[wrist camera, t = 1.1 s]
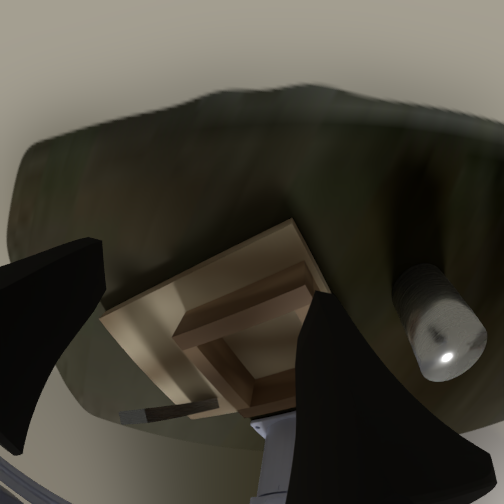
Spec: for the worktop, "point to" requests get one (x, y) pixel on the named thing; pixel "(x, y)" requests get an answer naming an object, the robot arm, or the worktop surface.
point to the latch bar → (167, 412)
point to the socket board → (226, 325)
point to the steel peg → (437, 323)
